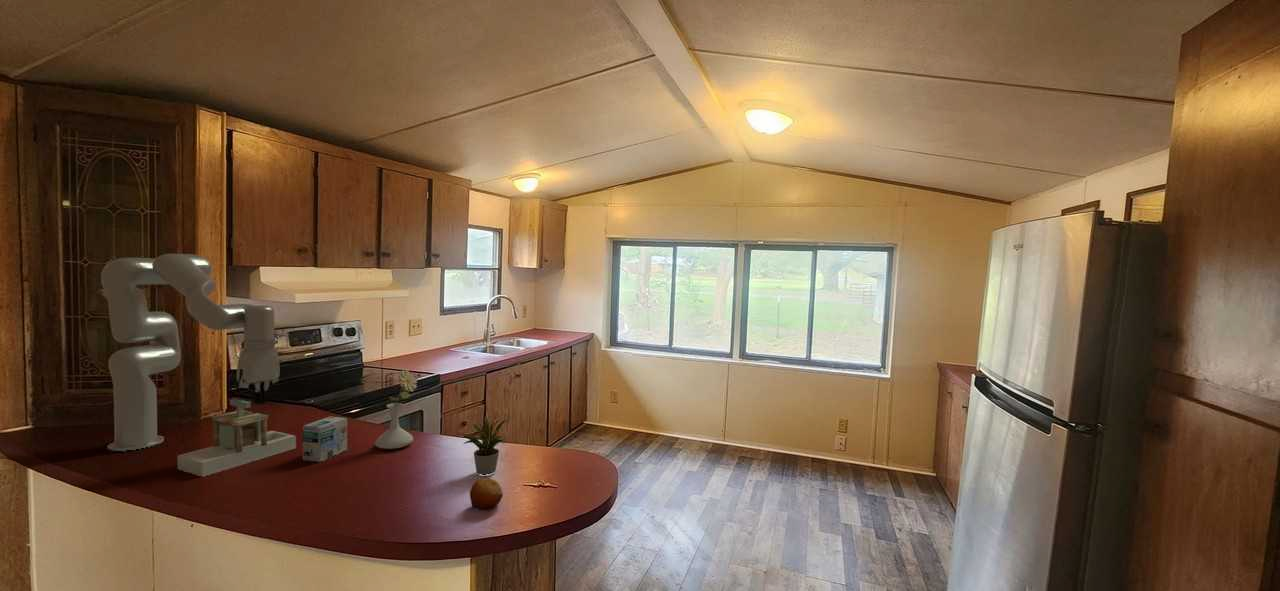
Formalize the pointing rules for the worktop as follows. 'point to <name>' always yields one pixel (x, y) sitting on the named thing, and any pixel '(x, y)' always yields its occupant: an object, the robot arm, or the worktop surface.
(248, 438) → the block
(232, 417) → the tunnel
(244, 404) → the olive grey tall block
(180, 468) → the white rectangular tray
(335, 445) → the light bulb box
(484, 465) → the house plant
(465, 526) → the worktop surface
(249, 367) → the robot arm
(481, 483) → the fruit
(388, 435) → the flower in vase
